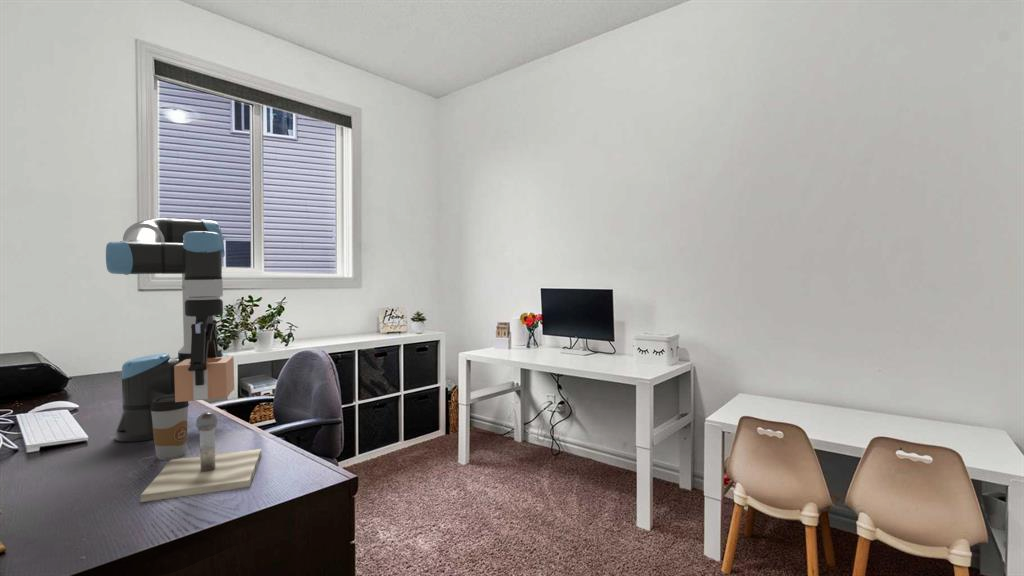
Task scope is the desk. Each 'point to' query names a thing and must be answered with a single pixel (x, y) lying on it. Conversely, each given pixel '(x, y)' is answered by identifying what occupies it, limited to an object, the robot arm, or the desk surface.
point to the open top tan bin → (217, 379)
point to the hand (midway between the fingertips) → (206, 394)
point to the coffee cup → (169, 427)
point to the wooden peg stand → (204, 468)
